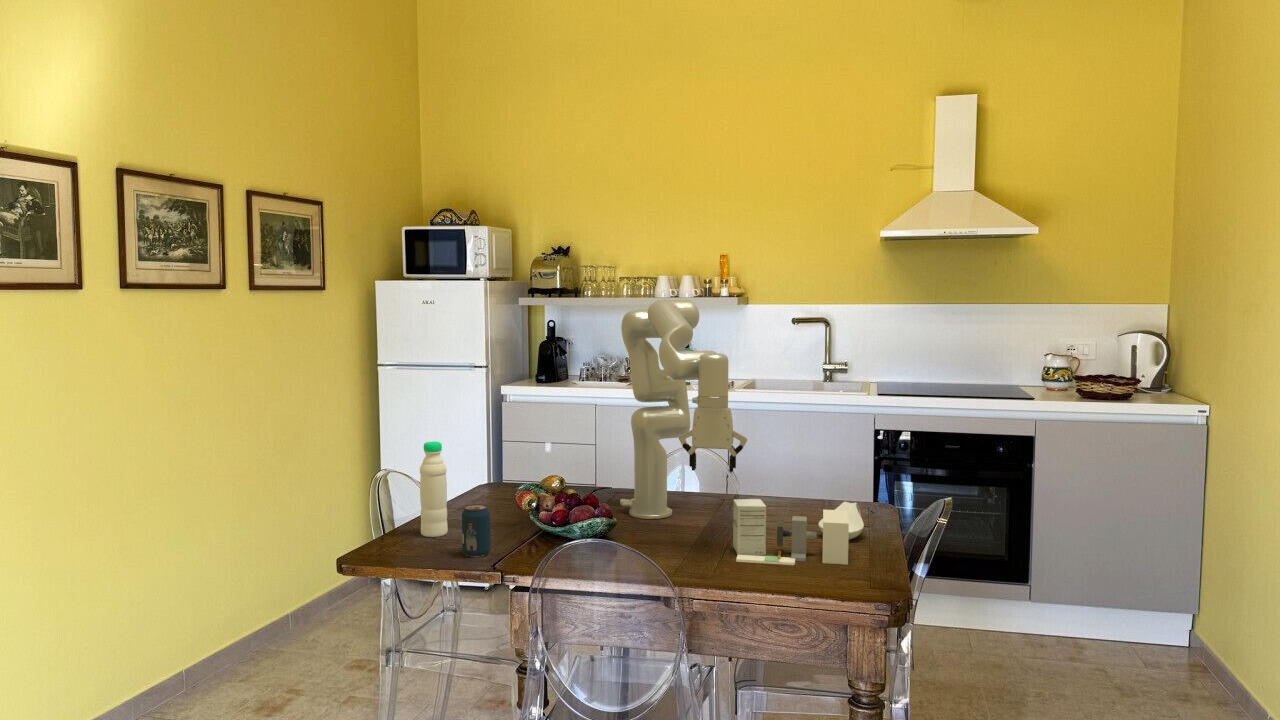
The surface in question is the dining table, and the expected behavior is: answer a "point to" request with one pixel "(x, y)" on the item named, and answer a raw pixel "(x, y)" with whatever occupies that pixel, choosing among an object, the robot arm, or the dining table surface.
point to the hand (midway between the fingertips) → (712, 470)
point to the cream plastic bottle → (433, 492)
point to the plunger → (788, 535)
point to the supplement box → (749, 527)
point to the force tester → (832, 541)
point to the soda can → (476, 530)
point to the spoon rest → (850, 519)
